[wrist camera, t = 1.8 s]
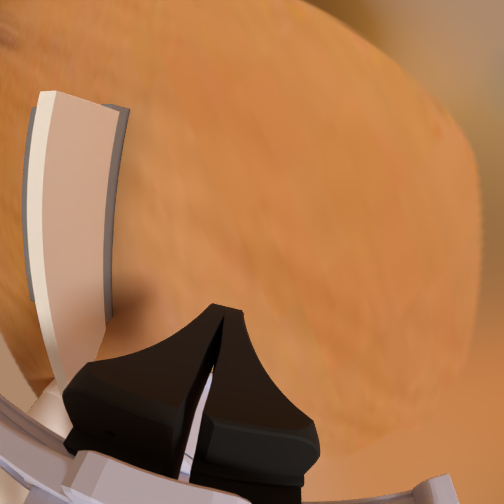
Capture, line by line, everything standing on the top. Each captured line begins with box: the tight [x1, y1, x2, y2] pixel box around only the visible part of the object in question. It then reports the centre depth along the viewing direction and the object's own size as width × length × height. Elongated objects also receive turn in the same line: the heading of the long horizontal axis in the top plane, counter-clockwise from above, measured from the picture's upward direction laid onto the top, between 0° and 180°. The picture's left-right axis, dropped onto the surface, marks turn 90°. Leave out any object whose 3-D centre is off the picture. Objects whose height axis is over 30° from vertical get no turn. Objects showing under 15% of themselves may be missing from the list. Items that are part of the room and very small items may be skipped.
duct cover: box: [27, 91, 119, 396], centre depth 13 cm, size 17×9×1 cm
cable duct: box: [22, 104, 130, 325], centre depth 19 cm, size 18×9×3 cm, turn 167°
